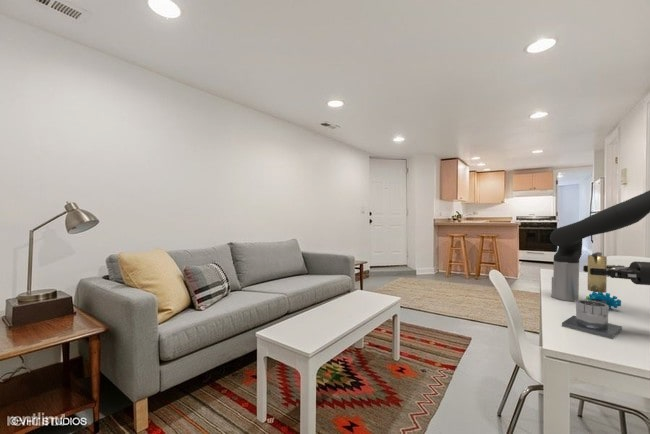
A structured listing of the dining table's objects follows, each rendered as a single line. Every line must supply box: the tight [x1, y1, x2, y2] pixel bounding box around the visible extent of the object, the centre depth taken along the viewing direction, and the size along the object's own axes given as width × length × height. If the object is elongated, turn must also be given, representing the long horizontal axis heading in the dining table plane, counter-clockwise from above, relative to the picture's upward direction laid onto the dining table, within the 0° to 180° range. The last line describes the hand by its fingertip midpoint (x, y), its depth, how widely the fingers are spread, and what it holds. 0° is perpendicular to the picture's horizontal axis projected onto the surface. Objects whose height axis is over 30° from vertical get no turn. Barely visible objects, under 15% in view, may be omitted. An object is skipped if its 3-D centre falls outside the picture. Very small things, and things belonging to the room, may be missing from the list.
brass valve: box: [587, 251, 608, 294], centre depth 102 cm, size 5×7×13 cm
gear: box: [585, 291, 622, 309], centre depth 123 cm, size 11×6×10 cm
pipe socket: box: [561, 299, 623, 340], centre depth 102 cm, size 13×13×8 cm
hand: (587, 269), depth 103 cm, fingers closed on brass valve, 4 cm apart
